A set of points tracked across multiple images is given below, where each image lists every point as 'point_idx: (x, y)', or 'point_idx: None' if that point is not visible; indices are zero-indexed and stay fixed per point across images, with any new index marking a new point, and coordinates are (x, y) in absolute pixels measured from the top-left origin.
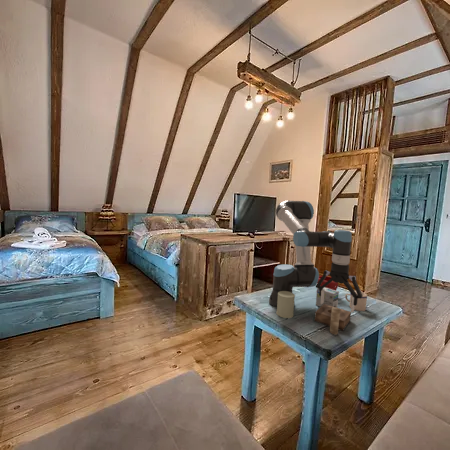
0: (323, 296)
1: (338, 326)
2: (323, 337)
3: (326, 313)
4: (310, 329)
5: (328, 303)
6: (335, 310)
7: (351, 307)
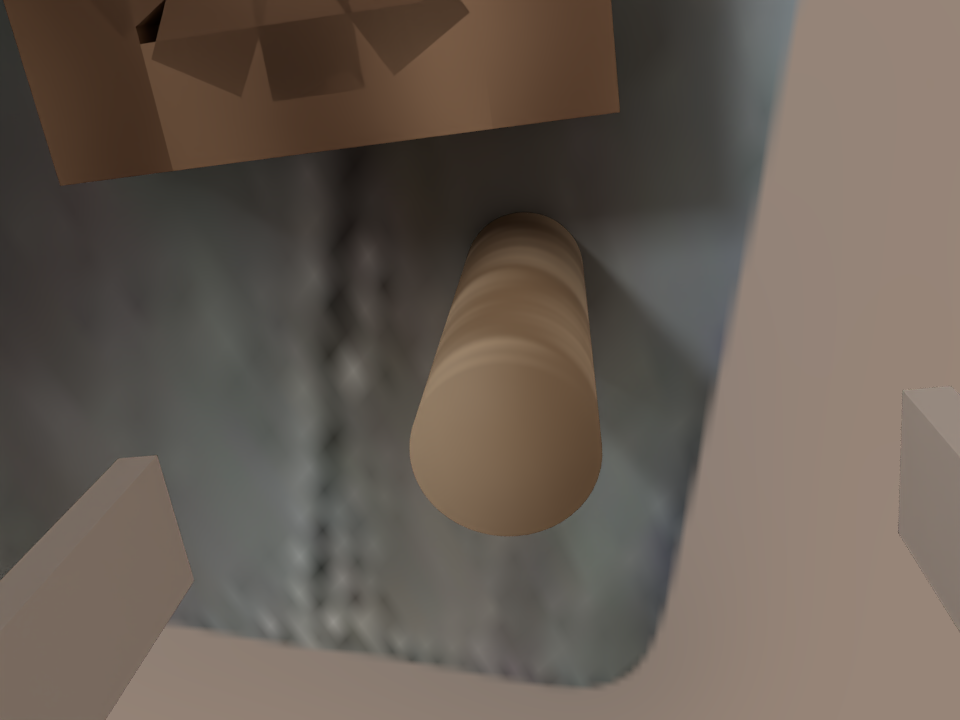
0: (86, 618)
1: (585, 294)
2: None
3: (225, 60)
4: (267, 444)
5: None
6: (530, 527)
7: (955, 609)
